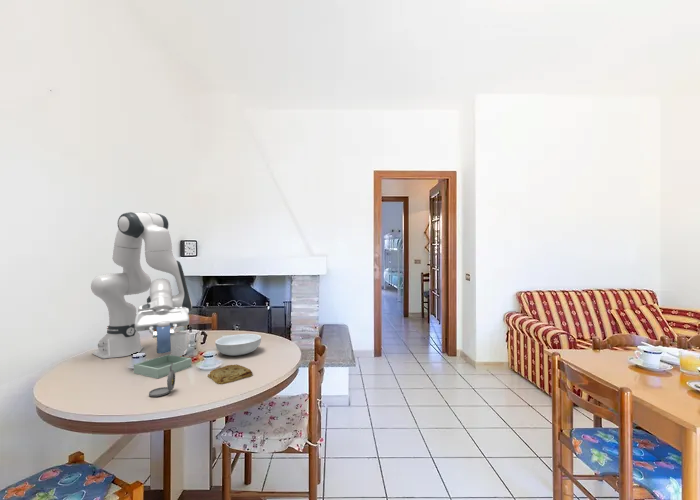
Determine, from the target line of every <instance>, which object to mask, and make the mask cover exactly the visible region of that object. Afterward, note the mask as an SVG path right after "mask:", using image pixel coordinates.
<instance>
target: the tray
mask: <svg viewBox="0 0 700 500" xmlns="http://www.w3.org/2000/svg"><path fill="white" fill-rule="evenodd" d="M172 363H173V365H171V364H172ZM170 366H172V370H174V371H175V373H177V372H180V371H183V370H186V369H189V368H192V367H193V365H192V358H191V357H185V356H181V357H180V356H174V355H171V354H170V353H169V354H165V355H161V356H159V357H158V356H157V357H155V358H151V359H148V360H145V361H142V362H138V363H134V364H133V374H136V375H141V376H144V377H149V378H153V379H162V378H164V377H166V376H167V377H168V374H169V372H170Z"/></svg>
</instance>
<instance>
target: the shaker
mask: <svg viewBox="0 0 700 500" xmlns="http://www.w3.org/2000/svg"><path fill="white" fill-rule="evenodd" d="M170 330H171V328H170V321H162V322H157V329H156V332H157V337H156V353H157V354H166V353H169V352H170V353H171V334H170Z"/></svg>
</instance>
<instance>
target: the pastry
mask: <svg viewBox="0 0 700 500" xmlns="http://www.w3.org/2000/svg"><path fill="white" fill-rule="evenodd" d="M252 376H253V371H252V370H251V369H250V368H247V367H245V366H243V365H239V364H229V365H225V366H222V367H218V368H214V369H212V370H211V371H210V373H209V374H207V377H208V378H209V379H211V380H212V381H213V383H215V384H216V385H225V384H229V383H234V382H237V381H240V380H244V379H247V378H250V377H252Z"/></svg>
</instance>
